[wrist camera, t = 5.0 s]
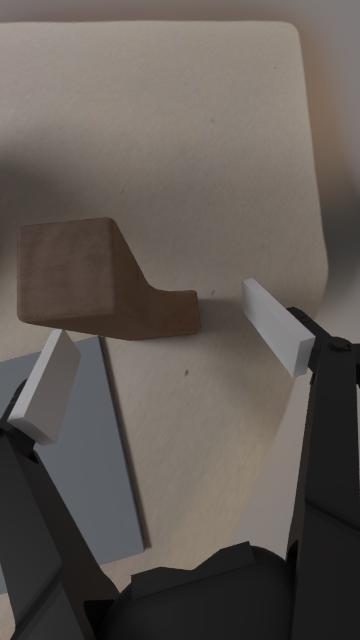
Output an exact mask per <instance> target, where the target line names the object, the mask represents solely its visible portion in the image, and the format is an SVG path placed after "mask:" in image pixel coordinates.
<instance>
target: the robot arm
mask: <svg viewBox="0 0 360 640" xmlns="http://www.w3.org/2000/svg"><path fill="white" fill-rule="evenodd" d="M242 296H243V312H244V314H245V315H246V316H247V318H248V319H249V320H250V322H251V323H252V324H253V326H254V327H255V328H256V330H257V331H258V332H259V333H260V335H261V336H262V337H263V339H264V340H265V341H266V343H267V344H268V345H269V347H270V348H271V349H272V351H273V352H274V353H275V355H276V356H277V357H278V359H279V360H280V361H281V363H282V364H283V365H284V367H285V368H286V369H287V371H288V372H289V373H290V375H291V376H292V377H297V376H300V375H303V374H306V372H307V368H308V367H309V368H310V369H311V371H312V372H313V374H312V377H311V381H310V385H311V387H310V394H309V401H308V409H307V416H306V423H305V431H304V438H303V445H302V453H301V460H300V468H299V475H298V483H297V489H296V497H295V505H294V511H293V517H292V522H291V526H290V532H289V538H288V545H287V552H286V559H285V560H284V559H283V558H281V557H280V556H278V555H277V554H275V553H273V552H271V551H269V550H267V549H265V548H261V547H258V546H250V543H249V541H247V542H243V543H240V544H237V545H233V546H230V547H226V548H223V549H220V550H219V551H217V552H216V553H215V554H213V555H212V556H211V557H210V558H208V559H207V560H206V561H204V562H203V563H202V564H200V565H199V566H198V567H196V568H195V569H193V570H183V569H175V568H167V567H158V568H154V569H151V570H147V571H144V572H141V573H137V574H134V575H131V583H130V584H129V585H128V586H127V587H126V588H125V589H124V590H123V591H122V592H121V593H119V591H118V589H117V588H116V586H115V585H114V583H113V582H112V581H111V580H110V579H109V578H108V577H107V576H106V575H105V574H104V573H103V571H102V570H101V569H100V567H99V565H98V563H97V561H96V560H95V558H94V556H93V554H92V552H91V550H90V549H89V547H88V545H87V543H86V541H85V539H84V538H83V536H82V534H81V532H80V530H79V528H78V527H77V525H76V523H75V521H74V519H73V517H72V516H71V514H70V512H69V510H68V508H67V506H66V505H65V503H64V501H63V499H62V497H61V495H60V494H59V492H58V490H57V488H56V486H55V484H54V483H53V481H52V479H51V477H50V475H49V473H48V472H47V470H46V468H45V466H44V464H43V462H42V461H41V459H40V457H39V455H38V453H37V452H36V451H35V450H34V449H33V448H34V445H35V442H37V443H38V444H39V445H41V446H42V447H43V446H47V445H50V444H54V443H57V440H58V436H59V433H60V429H61V425H62V422H63V418H64V415H65V411H66V408H67V404H68V401H69V397H70V394H71V390H72V387H73V383H74V380H75V376H76V373H77V369H78V366H79V362H80V359H81V355H82V354H81V353H80V351H79V350H78V349H77V347H76V346H75V344H74V343H73V341H72V340H71V339H70V337H69V336H68V334H67V333H66V331H65V330H63V329H57V330H53V331H52V333H51V335H50V337H49V339H48V341H47V343H46V345H45V346H44V348H43V350H42V352H41V354H40V356H39V358H38V360H37V362H36V364H35V366H34V368H33V370H32V372H31V374H30V376H29V378H28V379H25V380H24V381H23V382H22V383H21V384H20V385H19V386H18V388H17V389H16V391H15V393H14V395H13V397H12V399H11V401H10V402H9V403H10V404H8V406H7V408H6V410H5V412H4V414H3V416H2V417H1V419H0V564H1V568H2V572H3V576H4V580H5V584H6V588H7V591H8V595H9V599H10V603H11V607H12V611H13V615H14V618H15V625H16V626H15V632H14V634H13V636H12V637H11V639H10V640H360V481H359V451H358V422H357V420H358V419H357V389H356V384H358V386H359V388H360V344H352V343H351V342H349V341H348V340H346V339H343V338H340V337H332V336H331V335H330V334H328V333H327V332H326V331H325V330H324V329H323V328H321V327H320V326H319V325H318V324H317V323H316V322H314V321H313V320H312V319H311V318H310V317H308V316H307V315H306V314H305V313H304V312H303V311H302V310H299V309H297V308H295V307H291V308H287V309H285V308H284V307H283V306H282V305H281V304H280V303H279V302H278V301H277V300H276V299H275V298H274V297H272V296H271V295H270V294H269V293H268V292H267V291H266V290H265V289H264V288H263V287H262V286H261V285H260V284H259V283H257V282H256V281H255V280H254V279H253V278H250V279H246V280H242Z"/></svg>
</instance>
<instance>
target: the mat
mask: <svg viewBox="0 0 360 640" xmlns="http://www.w3.org/2000/svg"><path fill="white" fill-rule="evenodd" d="M74 344H75V346H76V347H77V349H78V350H79V351H80V353H81V354H82V355H81V359H80V362H79V366H78V369H77V373H76V376H75V380H74V383H73V387H72V390H71V394H70V397H69V401H68V404H67V408H66V411H65V415H64V418H63V422H62V425H61V429H60V433H59V436H58V440H57V443H54V444H50V445H47V446H43V447H42V446H41V445H39V444H38V443H37V442H35V445H34V448H33V449H34V450H35V451H36V452H37V453H38V455H39V457H40V459H41V461H42V462H43V464H44V466H45V468H46V470H47V472H48V473H49V475H50V477H51V479H52V481H53V483H54V484H55V486H56V488H57V490H58V492H59V494H60V495H61V497H62V499H63V501H64V503H65V505H66V506H67V508H68V510H69V512H70V514H71V516H72V517H73V519H74V521H75V523H76V525H77V527H78V528H79V530H80V532H81V534H82V536H83V538H84V539H85V541H86V543H87V545H88V547H89V549H90V550H91V552H92V554H93V556H94V558H95V560H96V561H97V563H98V565H102V564H105V563H108V562H112V561H115V560H119V559H122V558H125V557H129V556H132V555H136V554H139V553H142V552H144V551H145V543H144V539H143V534H142V529H141V525H140V520H139V516H138V511H137V506H136V502H135V497H134V493H133V488H132V483H131V479H130V474H129V469H128V465H127V460H126V456H125V451H124V446H123V442H122V437H121V433H120V428H119V423H118V419H117V414H116V410H115V405H114V400H113V396H112V391H111V386H110V382H109V377H108V373H107V368H106V363H105V359H104V354H103V350H102V345H101V340H100V336H96V337H93V338H89V339H85V340H82V341H78V342H74ZM41 352H42V351H41ZM41 352H37V353H34V354H30V355H26V356H22V357H19V358H15V359H11V360H8V361H4V362H0V419H1V417H2V416H3V414H4V412H5V410H6V408H7V406H8V404H10V403H9V402H10V401H11V399H12V397H13V395H14V393H15V391H16V389H17V388H18V386H19V385H20V384H21V383H22V382H23V381H24V380H25V379H28V378H29V376H30V374H31V372H32V370H33V368H34V366H35V364H36V362H37V360H38V358H39V356H40V354H41ZM7 592H8V591H7V588H6V584H5V580H4V576H3V572H2V568H1V564H0V594H3V593H7Z"/></svg>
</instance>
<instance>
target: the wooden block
mask: <svg viewBox="0 0 360 640" xmlns="http://www.w3.org/2000/svg"><path fill="white" fill-rule="evenodd" d="M17 316H18V318H19V320H20V321H22V322H25V323H28V324H33V325H39V326H45V327H51V328H57V329H63V330H69V331H75V332H81V333H87V334H93V335H98V336H104V337H110V338H116V339H122V340H128V341H132V340H141V339H151V338H161V337H171V336H180V335H190V334H196V333H198V332H199V330H200V328H201V326H200V317H199V308H198V300H197V293H196V291H193V290H189V291H163V290H157V289H155V288H153V287H152V286H150V285H149V284H148V282H147V281H146V279H145V277H144V275H143V273H142V271H141V269H140V267H139V266H138V264H137V262H136V260H135V258H134V256H133V254H132V252H131V250H130V249H129V247H128V245H127V243H126V241H125V239H124V237H123V235H122V233H121V232H120V230H119V228H118V226H117V224H116V222H115V221H114V220H113V219H111V218H96V219H87V220H77V221H67V222H57V223H48V224H38V225H28V226H23V227H21V228H20V229H19V231H18V239H17Z"/></svg>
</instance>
